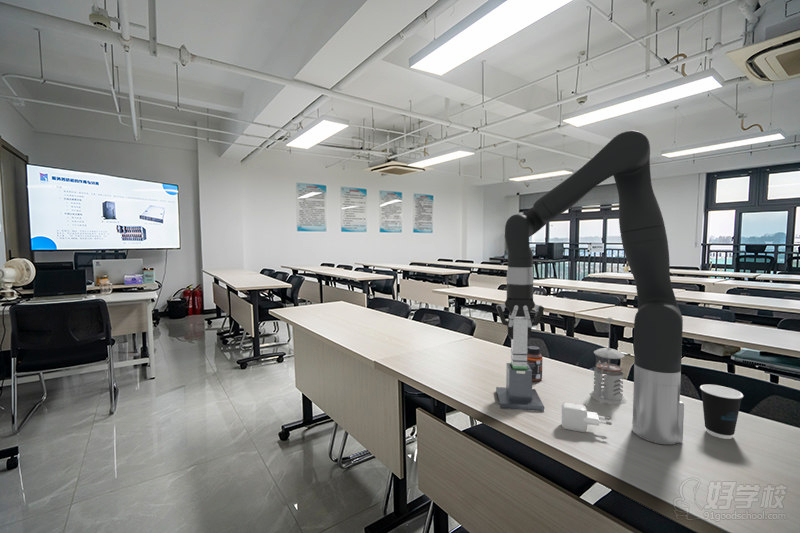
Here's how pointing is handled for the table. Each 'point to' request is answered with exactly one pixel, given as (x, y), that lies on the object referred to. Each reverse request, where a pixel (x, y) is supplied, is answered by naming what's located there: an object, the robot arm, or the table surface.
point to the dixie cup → (720, 410)
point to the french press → (608, 376)
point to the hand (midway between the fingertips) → (519, 338)
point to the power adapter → (579, 417)
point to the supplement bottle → (535, 362)
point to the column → (519, 344)
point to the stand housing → (519, 391)
